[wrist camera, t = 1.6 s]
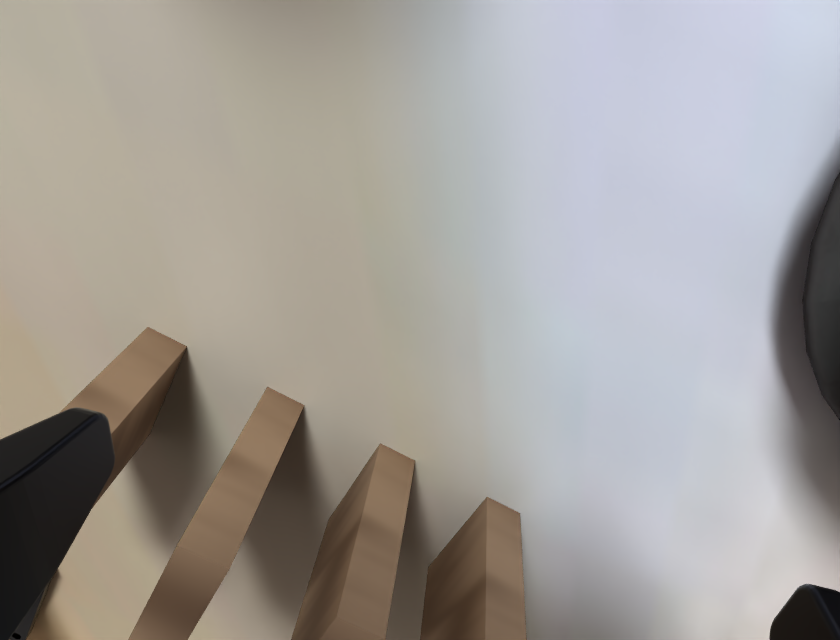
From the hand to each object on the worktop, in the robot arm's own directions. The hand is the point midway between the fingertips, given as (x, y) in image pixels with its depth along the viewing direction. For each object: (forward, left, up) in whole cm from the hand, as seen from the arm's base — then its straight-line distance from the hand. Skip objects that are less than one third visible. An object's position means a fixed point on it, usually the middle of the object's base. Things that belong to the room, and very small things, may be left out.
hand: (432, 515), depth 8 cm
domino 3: (-13, -3, -14) cm, 19 cm away
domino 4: (-13, -8, -14) cm, 21 cm away
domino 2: (-13, +2, -14) cm, 19 cm away
